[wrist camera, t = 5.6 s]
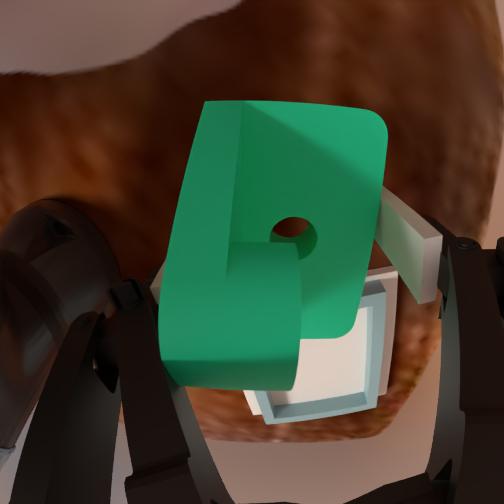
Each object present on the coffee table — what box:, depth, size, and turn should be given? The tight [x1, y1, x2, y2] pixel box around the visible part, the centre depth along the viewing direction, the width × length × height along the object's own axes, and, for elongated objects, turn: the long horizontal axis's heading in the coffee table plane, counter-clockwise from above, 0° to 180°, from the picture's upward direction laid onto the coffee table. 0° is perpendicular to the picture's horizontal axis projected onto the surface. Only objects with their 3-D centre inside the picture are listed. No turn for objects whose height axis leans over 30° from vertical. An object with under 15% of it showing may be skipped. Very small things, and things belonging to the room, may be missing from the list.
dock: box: [243, 265, 398, 424], centre depth 30 cm, size 17×18×3 cm
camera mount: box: [158, 101, 388, 391], centre depth 12 cm, size 12×8×10 cm, turn 179°
